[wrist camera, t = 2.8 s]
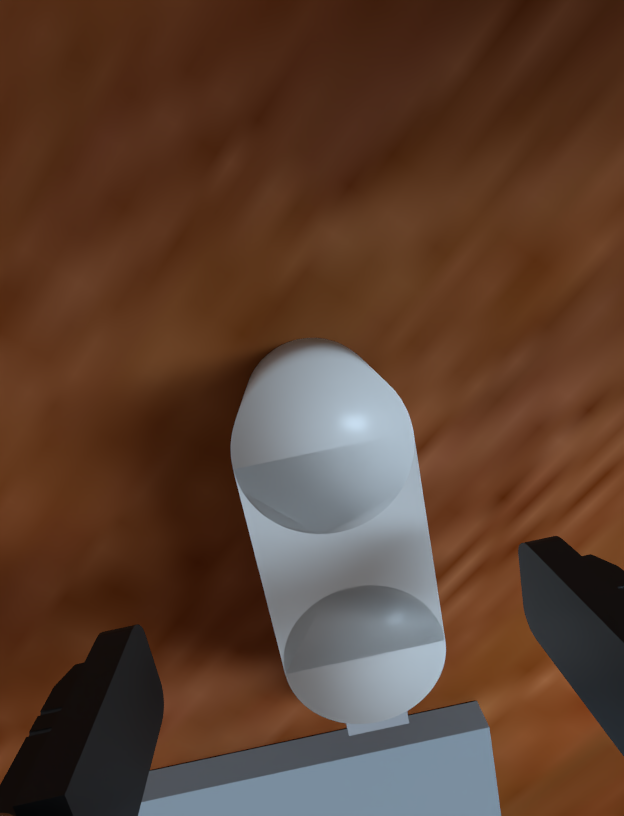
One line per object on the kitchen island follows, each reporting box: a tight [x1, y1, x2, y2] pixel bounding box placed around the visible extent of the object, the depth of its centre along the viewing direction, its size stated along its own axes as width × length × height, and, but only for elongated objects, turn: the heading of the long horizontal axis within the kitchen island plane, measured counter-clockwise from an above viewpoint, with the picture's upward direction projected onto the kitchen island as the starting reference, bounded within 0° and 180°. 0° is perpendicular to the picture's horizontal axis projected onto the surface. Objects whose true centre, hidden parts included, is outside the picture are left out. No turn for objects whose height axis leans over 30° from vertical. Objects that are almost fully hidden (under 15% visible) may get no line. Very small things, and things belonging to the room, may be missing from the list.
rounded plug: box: [230, 338, 446, 736], centre depth 15 cm, size 4×13×4 cm, turn 11°
